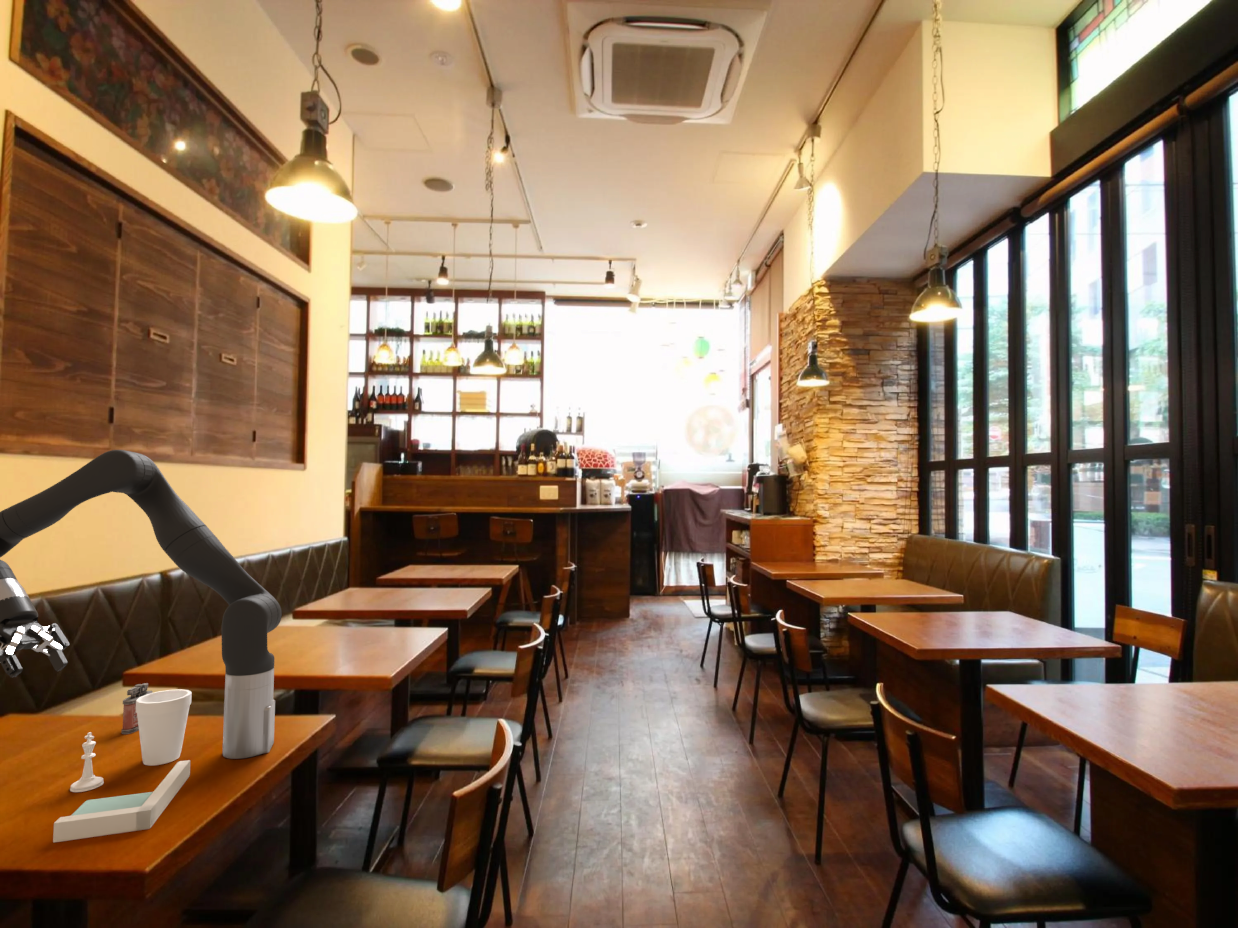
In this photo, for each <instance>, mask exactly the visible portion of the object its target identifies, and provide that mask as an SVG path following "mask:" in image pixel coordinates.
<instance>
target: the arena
mask: <svg viewBox="0 0 1238 928" xmlns="http://www.w3.org/2000/svg"><path fill="white" fill-rule="evenodd" d="M190 776H191V760H190V759H188V760H186V759H185V760H180V761H177V762H176V764H175V765H174V766H173V768H172V769H171V770H170V771H169V772H168V774H167V775H166V776H165V777H164V779H162V780H161V782H160V783H159V785H157V786H156V788H155V789H154V791H149V792H147V791H146V792H141V793H133V794H126V795H116V796H110V797H101V798H95V799H86V801H84V802H83V803H82V804H81V805H80V806H79V807H78V808H77V809H76V810H75V811H74V812H73V813H72V814H71V815H67V816H59V818H58V819H57V820H56V821H54V823H53V835H52V842H53V843H60V842H61V843H62V842H67V841H73V840H80V839H88V838H93V837H94V838H95V837H102V836H107V835H108V836H110V835H116V834H124V833H129V832H136V831H142V830H150V829H151V828H152V827H153V826H154V824H155V823H156V822H157V820H158V819H159V818H160V816H161V815H162V813H163V812H164V811H165V809H166V808H167V807H168V805H169V804H170V803H171V801H172V800H174V797H175V796H176V795H177V793H178V792H179V791H180V790H181V788H182V787H183V786H184V785H185V783H186V781H188V779H189V777H190Z"/></svg>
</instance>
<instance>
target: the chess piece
mask: <svg viewBox="0 0 1238 928" xmlns="http://www.w3.org/2000/svg"><path fill="white" fill-rule="evenodd" d="M94 738H95V736H94V735H93V732H91V731H90V732H87V735H85V736H84V739H85V740H86V742H83V743H82V744H81V746H82V749H83V752H84V754H82V755H81V758H80V759H81V760H84V762H83V770H82V775H81V777H80V778H79V779H78V780H77V781H75V782H73V783H71V785H70V788H69V791H70V792H72V793H82V792H83V793H84V792H87V791H91V790H94V789H97V788H99V787H101V786H103V785H104V783H105V782H104V778H103V777H102V776H96V775H95V774H94V771H93V769H94V768H93V759H92V758H94V757H96V753H95V752H93V750H94V748H95V745H96V744H97V742H96V741H94Z"/></svg>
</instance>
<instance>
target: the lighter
mask: <svg viewBox="0 0 1238 928" xmlns="http://www.w3.org/2000/svg"><path fill="white" fill-rule="evenodd" d="M148 688H149V683H148V682H146V683H145V682H144V683H142V684H141V683H138V684H135V685H134V686H133V687H131V688H129V689H128V690H127V691H126V695H127V696H128V697H126V698H125V699H123V700H122V705H123V711H122V712H123V713H122V728H121V731H120V732H121V734H122V735H129V734H134V733H135V732H139V726H138V718H137V713H136V700H137V699H138V698H139V697H141V696H144V695H146V694H150V693H154V692H153V691H152V690H148Z"/></svg>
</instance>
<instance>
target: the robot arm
mask: <svg viewBox="0 0 1238 928" xmlns="http://www.w3.org/2000/svg"><path fill="white" fill-rule="evenodd" d="M112 492H113V493H117V494H118V493H121V494H125V495H126V496H128V497H129V498H130V499H131V500H132V501H133V502H134V503H135V504H136V505H137V506H138V508H140V509H141V510H142V511H143V512H144V513H145V514H146V516H147V518H148V519H149V521H150V524H151V527H152V529H153V533H154V536H155V538H156V541H157V544H159V546H160V548H161V550H163V552H164V553H165V554H166V555H167V556H168V557H169V558H170V559H171V561H172V562H173V563H174V564H175V565H176V566H177V567H178V569H180V570H181V571H182V572H184V573H185V574H186V575H188V576H189V577H191V578H193V579H195V580H196V581H197V582H200V583H202V584H203V585H205V586H208V588H211V589H212V590H213V591H215V592H216V593H217V594H218V595H220V597H221V598H222V599H223V600H224V601H225V603H227V604H228V606H227V607H226V609H225V611H224V613H223V615H222V619H221V620H222V621H221V658H222V659H221V660H222V661H223V664H224V666H225V677H224V679H225V680H224V681H225V682H224V701H223V702H224V703H223V731H222V732H223V733H222V756H223V757H224V758H226V759H230V760H233V759H234V760H235V759H236V760H237V759H239V760H240V759H247V758H252V757H255V756H260V755H262V754H268V753H270V751H271V749H272V747H273V745H274V743H275V717H276V716H275V714H276V700H275V699H274V689H275V687H274V684H275V682H274V681H275V655H274V653H272V652H270V651H269V649H268V633H271V632H273V630H275V629H276V628H277V627H278V626H279V625H280V623H281V621H282V616H283V615H282V607H281V605H280V603H279V602H278V600H277V599H276V598H275V597H274V596H273V595H272V594H271V593H270V592H269V591H268V590H266V589H265V588H264V587H263V586H262V585H261V584H260V583H258V581H257V580H255V579H254V578H253V577H252V576H251V575H250V574H249V573H248V572H247V571H246V570H245V569H244V567H242V565H241V564H240V563H239V561H238V560H236V558H235V557H234V556H233V554H232V553H230V552H229V550H228V549H227V548H226V547H225V545H224V544H223V543H222V542H221V541H220V539H218V537H217V536H216V535H215V534H214V532H212V530H211V529H210V528H209V527H208V526H207V525H206V524H205V522H203V521H202V520H201V519H200V518H199V516H198V515H197V514H196V513H195V512H194V510H192V509H191V508H190V507H189V505H188V504H186V502H184V500H182V499H181V498H180V496H179V495H178V494H177V493H176V492H175V490H174V488H173V487H172V486H171V485H170V483H169V482H168V480H167V479H166V477H165V476H164V474H163V473H162V472H161V470H160V468H159V467H158V465H156V463H155V461H153V460H152V459H151V458H150V457H148V456H146V455H145V454H142V453H140V452H136V451H130V450H125V449H112V450H108V451H106V452H103V453H101V454H99V455H98V456H96V457H95V458H93V459H92V460H91V461H89V462H87V463H86V464H85V465H83V466H82V467H80V468H79V469H77V470H75V471H74V472H72V473H71V474H69V475H68V476H66V477H65V478H63V479H62V480H60V481H57V482H56V483H55V484H53V485H52V486H49V487H48V488H46V489H44V490H42V491H41V492H39V493H36V494H34V495H32V496H30V497H28V498H26V499H24V500H22V501H19V502H17V503H15V504H13V505H11V506H9V507H7V508H4V509H3V510H0V558H2V557H4V556H5V555H6V554H7V553H8V552H10V551H11V550H12V549H14V548H15V547H16V546H17V545H18V544H19V543H21V542H22V541H23V540H24V539H27V538H29V537H31V536H33V535H35V534H37V533H39V532H42V531H43V530H45V529H47V528H49V527H51V526H53V525H55V524H56V523H58V522H59V521H61V519H63V518H64V517H65V516H66V515H67V514H69V513H70V512H71V511H72V510H73V509H75V508H76V507H78V506H79V505H81V504H82V503H85V502H86V501H89V500H91V499H93V498H96V497H100V496H102V495H106V494H109V493H112ZM9 565H10V564H8V562H6V561H4V560H3V559H0V643H1V645H0V666H2V668H3V670H4V672H5V674H6V675H7V676H9V678H17V676H19V675H21V673H22V672H23V671H24V669H23V667H22V665H21V663H20V661H19V659H18V657H17V656H16V654H14V652H15V651H21V650H33V651H34V652H36V653H39V652H40V653H43V654H44V655H46V656H48V657H47V658H48V660H49V662H50V663H51V666H52V667H53V669H54V670H55V671H56V672H59V671H62V670H63V669H64V668H65V667H67V665H68V660H67V658H66V656H65V654H64V652H63V651H64V650H65V649H66V648H67V647H68V646H70V642H69V640H68V638H67V637H66V635H65V634H64V633H63V631H62V629H61V628H60V626H59V624H57V623H56V622H54V623H52V624H50V625H48V626H43V625H41V624H40V623H39V621H38V620H39V613H38V611H37V610H36V607H35V606H34V604H33V602H32V600H31V598H30V597H29V594H28V593H27V591H26V589H25V588H24V587H23V586H22V585H21V583H20V582H19V581H18V579H17V577H16V575H15V573H14V571H13V570H12V568H11V567H10V566H9ZM42 640H43V642H42V643H41V644H40V642H41V641H42ZM47 646H49V647H50V648H49V647H47Z"/></svg>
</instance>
